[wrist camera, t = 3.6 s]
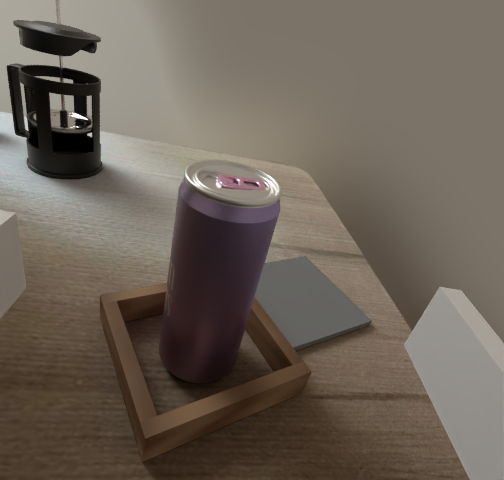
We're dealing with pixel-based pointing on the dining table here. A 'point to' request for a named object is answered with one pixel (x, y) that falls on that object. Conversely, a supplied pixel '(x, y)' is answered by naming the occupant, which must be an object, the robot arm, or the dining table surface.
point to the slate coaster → (306, 303)
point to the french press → (61, 121)
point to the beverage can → (215, 265)
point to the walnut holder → (205, 410)
